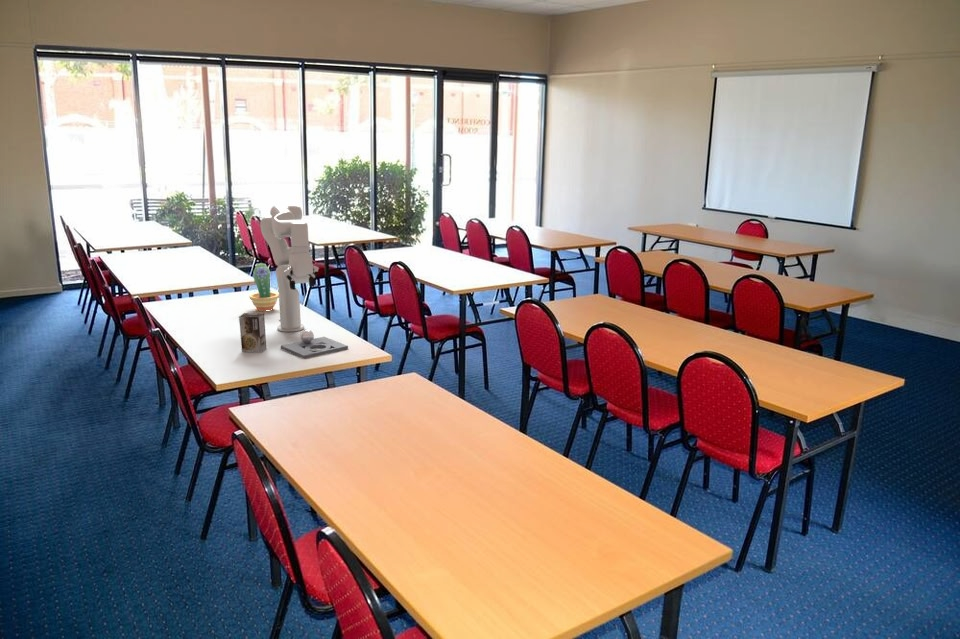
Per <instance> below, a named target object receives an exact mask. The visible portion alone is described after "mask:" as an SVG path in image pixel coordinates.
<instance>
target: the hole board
mask: <svg viewBox="0 0 960 639" xmlns="http://www.w3.org/2000/svg"><path fill="white" fill-rule="evenodd" d="M280 350H283V351H286V352H288V353H290V354H291V355H294V356H296V357H299V358H301V359H303V360H305V359H311V358H315V357H319V356H325V355H328V354H332V353H337V352H341V351H347V350H349V345H348V344H344V343H341V342H339V341H337V340H334V339H331V338H329V337H326V336H321V337H316V338H313V340H312V341H311V342H310V343H304V342H303V341H302V340H299V341H295V342H290V343H286V344H282V345H280Z"/></svg>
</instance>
